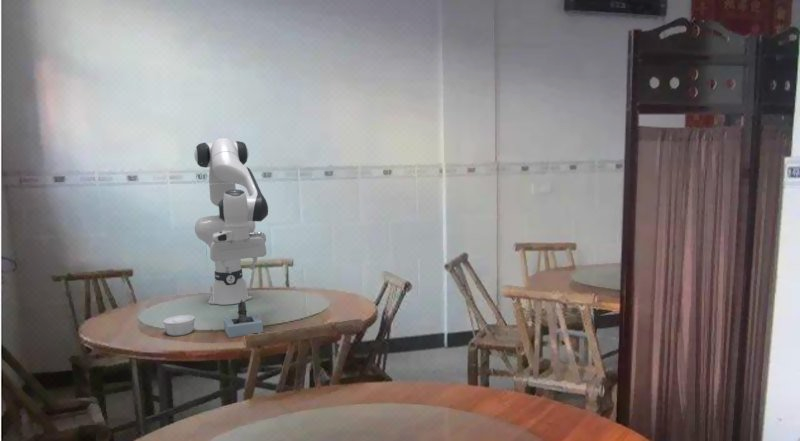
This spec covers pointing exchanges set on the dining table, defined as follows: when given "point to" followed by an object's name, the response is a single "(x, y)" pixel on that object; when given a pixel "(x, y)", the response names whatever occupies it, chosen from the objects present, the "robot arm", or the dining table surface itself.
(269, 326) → the dining table surface
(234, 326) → the caddy block
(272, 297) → the dining table surface
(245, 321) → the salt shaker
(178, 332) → the ramekin
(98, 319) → the dining table surface
